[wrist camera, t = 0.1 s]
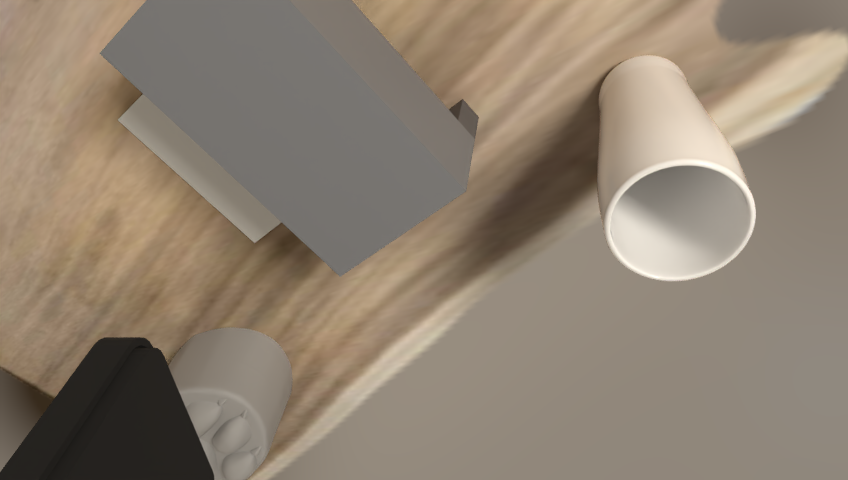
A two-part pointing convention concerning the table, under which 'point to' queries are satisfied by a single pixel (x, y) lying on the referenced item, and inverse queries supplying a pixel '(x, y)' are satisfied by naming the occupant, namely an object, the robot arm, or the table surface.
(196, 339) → the lumpy-topped squat cylinder
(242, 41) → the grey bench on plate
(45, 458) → the robot arm
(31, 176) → the table surface
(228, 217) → the mat
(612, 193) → the drinking glass
